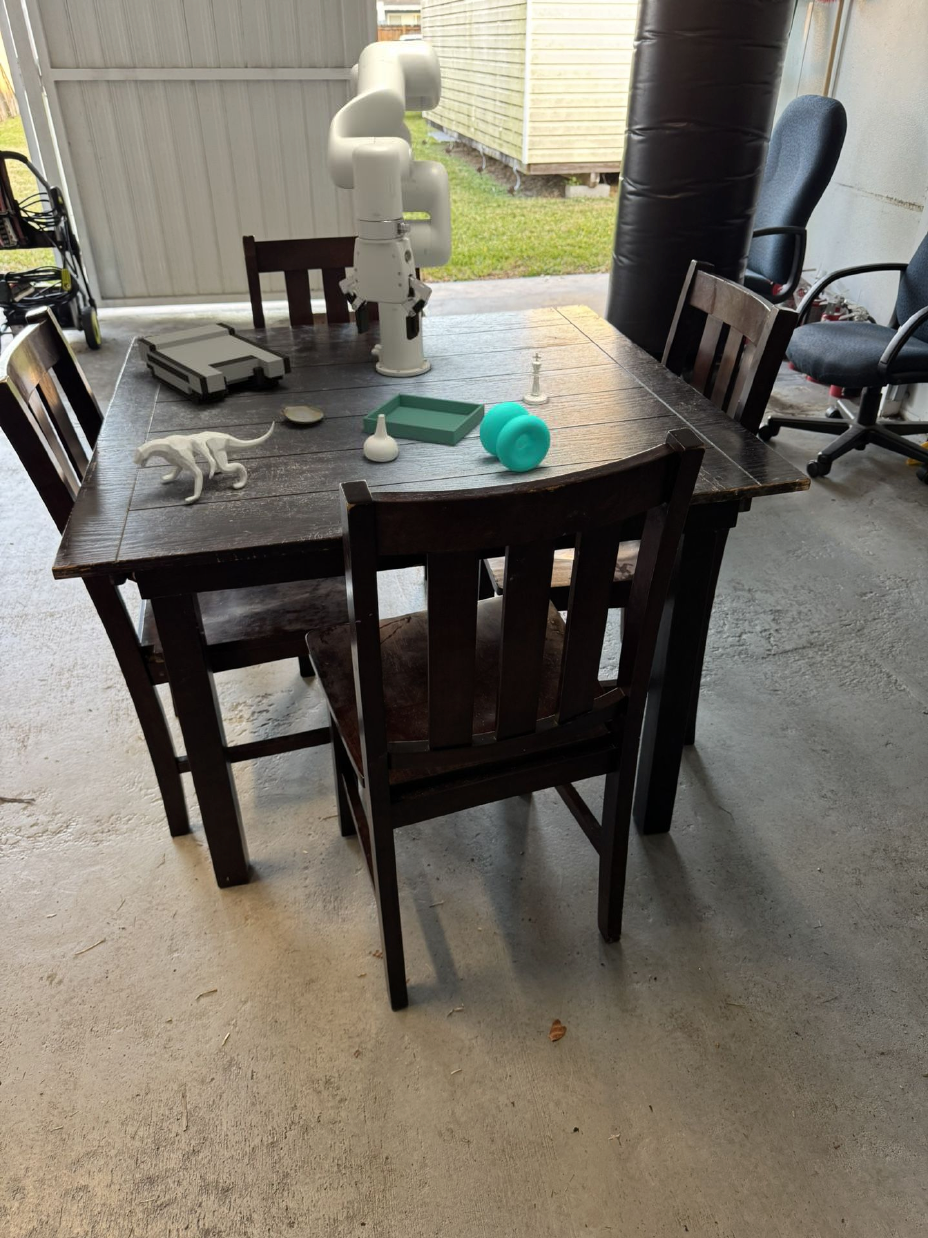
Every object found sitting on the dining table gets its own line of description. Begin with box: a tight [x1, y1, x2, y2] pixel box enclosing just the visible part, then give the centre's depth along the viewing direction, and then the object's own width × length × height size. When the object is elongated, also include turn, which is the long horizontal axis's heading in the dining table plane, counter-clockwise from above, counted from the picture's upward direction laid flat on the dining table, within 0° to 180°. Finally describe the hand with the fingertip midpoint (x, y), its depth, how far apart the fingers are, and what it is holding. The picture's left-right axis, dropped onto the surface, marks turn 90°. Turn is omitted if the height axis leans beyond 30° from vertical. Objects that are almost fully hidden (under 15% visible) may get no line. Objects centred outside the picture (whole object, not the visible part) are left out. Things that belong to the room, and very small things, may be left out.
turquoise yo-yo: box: [479, 401, 551, 473], centre depth 147 cm, size 10×10×10 cm
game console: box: [136, 322, 292, 406], centre depth 188 cm, size 21×32×8 cm, turn 40°
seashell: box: [279, 405, 324, 425], centre depth 168 cm, size 8×3×8 cm
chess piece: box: [523, 352, 548, 406], centre depth 174 cm, size 5×5×10 cm
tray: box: [362, 392, 486, 446], centre depth 165 cm, size 19×15×3 cm
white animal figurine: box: [132, 420, 275, 503], centre depth 142 cm, size 12×25×10 cm, turn 126°
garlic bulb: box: [363, 414, 399, 463], centre depth 151 cm, size 6×6×8 cm
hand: (388, 334), depth 148 cm, fingers open, 9 cm apart
